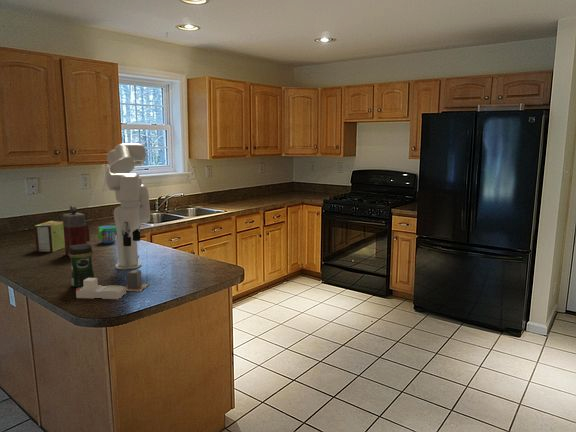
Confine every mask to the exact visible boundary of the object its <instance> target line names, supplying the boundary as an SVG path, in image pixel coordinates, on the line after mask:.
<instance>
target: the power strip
mask: <svg viewBox="0 0 576 432" xmlns="http://www.w3.org/2000/svg"><path fill="white" fill-rule="evenodd" d="M124 294H125V295H127V292H126V287H125V286H123V285H101V284H98V277H95V278H87V279H85V280H83V287H76V288H75V295H76V299H94V298H102V299H101V300H120V299H121V298H123V297H124V296H125V295H124ZM123 295H124V296H123ZM122 296H123V297H122ZM119 298H120V299H119Z"/></svg>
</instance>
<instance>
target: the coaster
mask: <svg viewBox="0 0 576 432" xmlns="http://www.w3.org/2000/svg"><path fill="white" fill-rule="evenodd" d="M148 285H149V283H142V286H141V287H140V288H138V289H128V286H127V285H125V286H124V287H126V291H142V290H143V289H144V288H145V287H146V286H148ZM148 287H149V286H148ZM146 288H147V287H146ZM146 288H145V289H146ZM145 289H144V290H145ZM144 290H143V291H144ZM143 291H142V292H143Z"/></svg>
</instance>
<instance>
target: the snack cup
mask: <svg viewBox="0 0 576 432" xmlns="http://www.w3.org/2000/svg"><path fill="white" fill-rule="evenodd" d="M97 230H98V233H97V239H98V240H99V241H101V243H102V244H113V243H115V240H116V236H117V231H116V225H101V226H98V227H97Z"/></svg>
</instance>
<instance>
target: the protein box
mask: <svg viewBox="0 0 576 432" xmlns="http://www.w3.org/2000/svg"><path fill="white" fill-rule="evenodd" d="M33 227H34V229H33V230H34V234H35V235H34V237H35V247H36V252H38V253H40V252H42V253H54V252H56V251H58V250H62V249H65V240H64V227H63V220H60V221H59V220H50V221H49V220H48V221H46V222H43V223H39V224H36V225H34V226H33Z"/></svg>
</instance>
